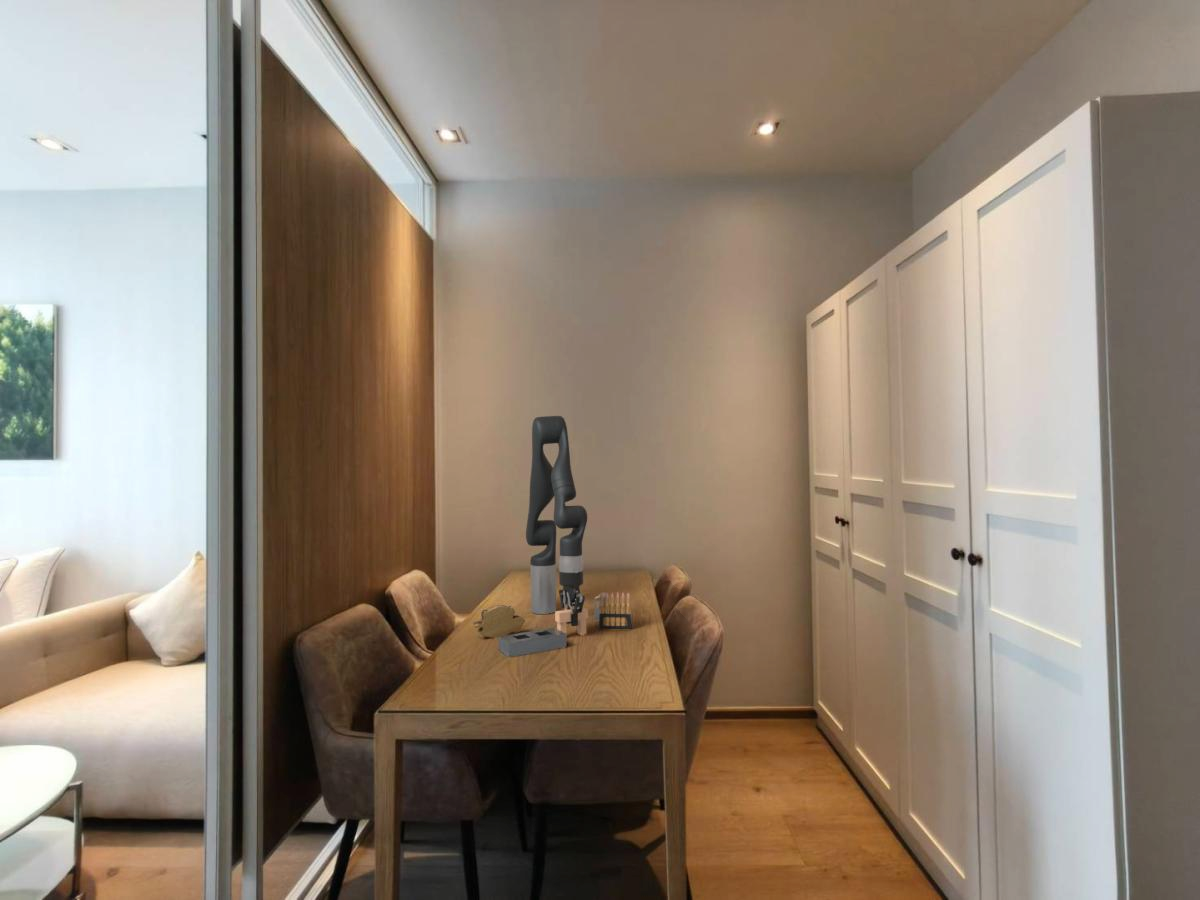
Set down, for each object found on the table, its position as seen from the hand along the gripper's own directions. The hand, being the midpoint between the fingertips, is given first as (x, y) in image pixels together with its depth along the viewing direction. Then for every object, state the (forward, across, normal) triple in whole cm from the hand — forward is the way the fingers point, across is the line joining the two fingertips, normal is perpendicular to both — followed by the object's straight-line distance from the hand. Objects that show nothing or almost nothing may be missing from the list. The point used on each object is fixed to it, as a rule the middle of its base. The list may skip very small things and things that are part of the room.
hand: (571, 624), depth 201 cm
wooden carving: (+4, -12, -20) cm, 23 cm away
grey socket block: (+4, +6, -16) cm, 17 cm away
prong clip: (+4, 0, 0) cm, 4 cm away
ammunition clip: (+4, 0, +16) cm, 16 cm away
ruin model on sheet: (+4, -16, +20) cm, 26 cm away
